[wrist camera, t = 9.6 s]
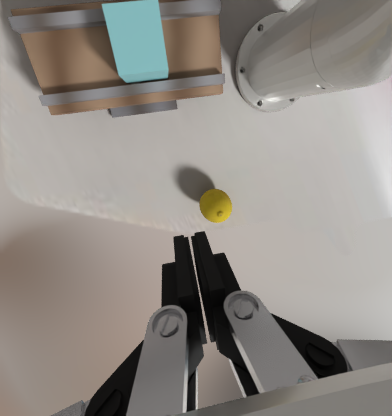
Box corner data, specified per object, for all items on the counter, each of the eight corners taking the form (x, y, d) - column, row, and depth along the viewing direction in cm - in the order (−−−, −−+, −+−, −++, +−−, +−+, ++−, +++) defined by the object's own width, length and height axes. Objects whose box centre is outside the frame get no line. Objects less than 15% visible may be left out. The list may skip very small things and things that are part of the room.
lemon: (198, 182, 38) (206, 197, 30) (226, 184, 39) (241, 200, 31) (194, 209, 40) (201, 229, 33) (221, 211, 41) (234, 231, 34)
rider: (159, 22, 23) (157, -1, 18) (167, 78, 25) (168, 69, 20) (114, 27, 22) (101, 4, 18) (127, 83, 25) (118, 75, 20)
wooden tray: (206, 6, 28) (219, -28, 21) (213, 104, 33) (226, 100, 26) (38, 22, 26) (-4, -11, 19) (73, 122, 31) (49, 123, 24)
